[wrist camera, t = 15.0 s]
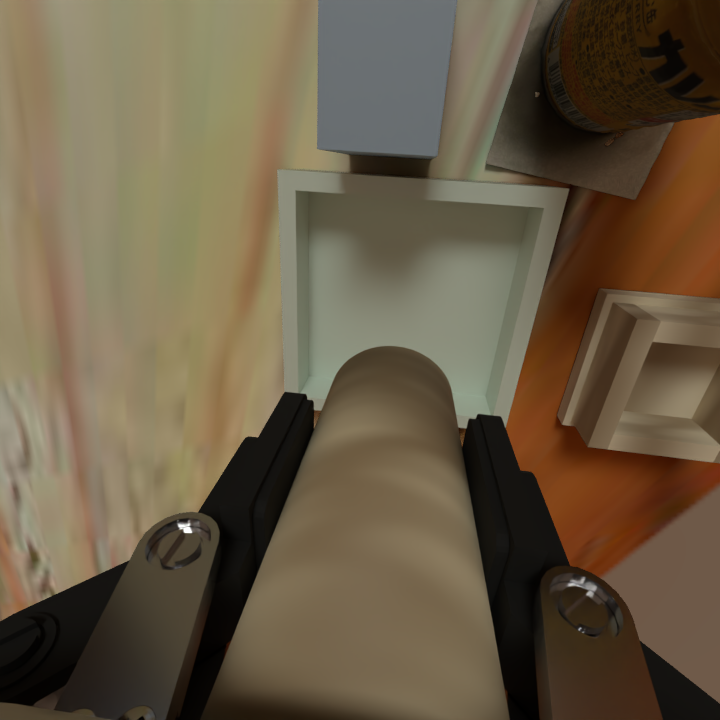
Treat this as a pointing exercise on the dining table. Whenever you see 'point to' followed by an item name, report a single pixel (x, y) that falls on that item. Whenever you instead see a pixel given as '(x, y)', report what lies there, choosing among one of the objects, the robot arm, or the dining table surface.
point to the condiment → (607, 88)
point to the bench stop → (383, 75)
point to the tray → (413, 277)
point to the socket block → (648, 376)
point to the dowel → (371, 567)
